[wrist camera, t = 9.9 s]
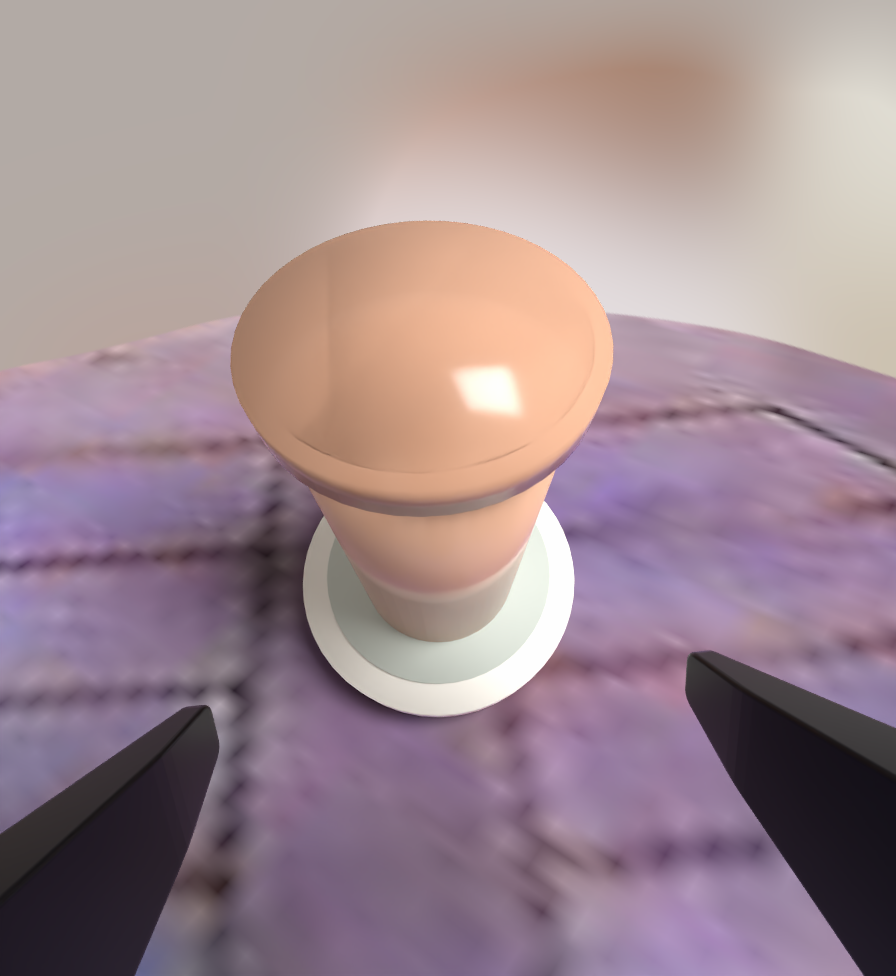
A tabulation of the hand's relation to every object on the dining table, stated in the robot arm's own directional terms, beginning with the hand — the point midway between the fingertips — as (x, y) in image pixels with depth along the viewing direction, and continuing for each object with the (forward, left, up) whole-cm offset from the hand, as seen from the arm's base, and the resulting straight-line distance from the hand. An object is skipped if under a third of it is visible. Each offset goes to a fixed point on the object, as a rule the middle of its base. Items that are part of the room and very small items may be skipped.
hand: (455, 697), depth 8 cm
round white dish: (+2, +5, -10) cm, 11 cm away
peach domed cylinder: (+2, +5, -8) cm, 10 cm away
